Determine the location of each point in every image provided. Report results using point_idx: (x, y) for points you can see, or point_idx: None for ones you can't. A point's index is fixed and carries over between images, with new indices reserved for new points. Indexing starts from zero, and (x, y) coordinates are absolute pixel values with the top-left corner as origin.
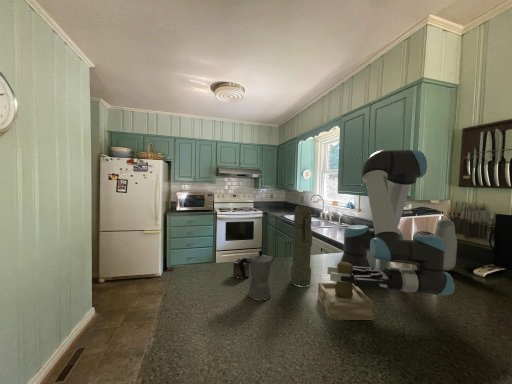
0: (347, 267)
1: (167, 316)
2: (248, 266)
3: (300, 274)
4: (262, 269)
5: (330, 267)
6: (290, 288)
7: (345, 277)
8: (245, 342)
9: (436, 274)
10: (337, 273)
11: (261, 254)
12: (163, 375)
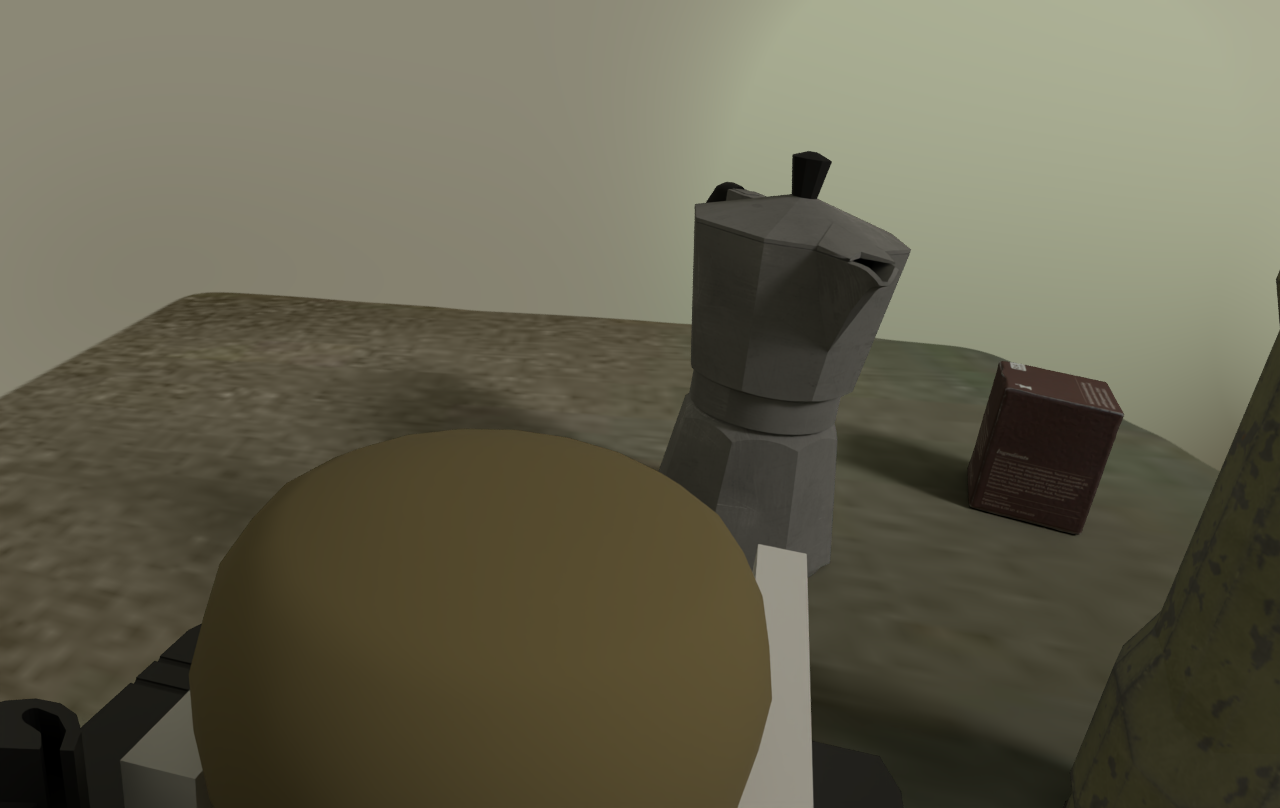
0: (248, 528)
1: (511, 319)
2: (1075, 449)
3: (1108, 713)
4: (693, 284)
5: (756, 578)
6: (963, 757)
7: (158, 674)
8: (226, 430)
9: None
10: None
11: (797, 185)
12: (181, 307)
